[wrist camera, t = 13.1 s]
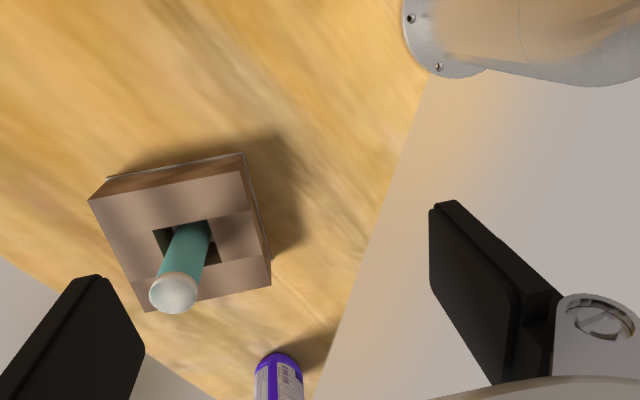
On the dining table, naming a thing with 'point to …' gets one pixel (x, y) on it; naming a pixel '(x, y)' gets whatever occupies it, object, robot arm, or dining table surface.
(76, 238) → the dining table surface
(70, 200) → the dining table surface
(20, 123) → the dining table surface
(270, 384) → the bottle
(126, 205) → the socket block
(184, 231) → the peg
